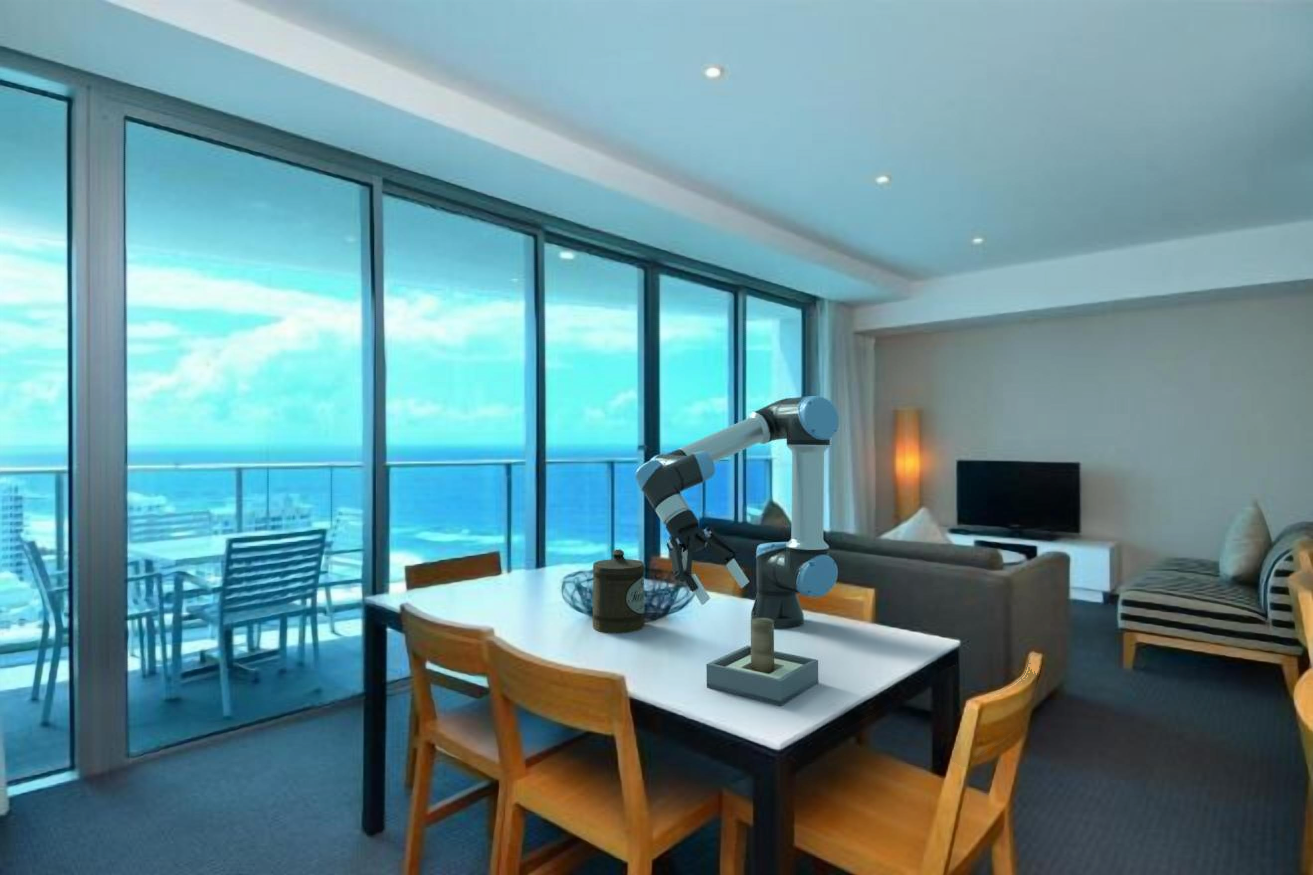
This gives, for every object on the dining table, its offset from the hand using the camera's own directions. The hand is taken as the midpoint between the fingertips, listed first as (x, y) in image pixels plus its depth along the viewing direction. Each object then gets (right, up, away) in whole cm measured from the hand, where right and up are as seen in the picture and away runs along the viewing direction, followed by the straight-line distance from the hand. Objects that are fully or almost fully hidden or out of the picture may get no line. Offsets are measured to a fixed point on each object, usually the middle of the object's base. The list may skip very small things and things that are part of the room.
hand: (726, 593), depth 163 cm
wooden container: (-27, -19, +42) cm, 53 cm away
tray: (+7, -18, -7) cm, 21 cm away
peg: (+7, -17, -7) cm, 20 cm away
